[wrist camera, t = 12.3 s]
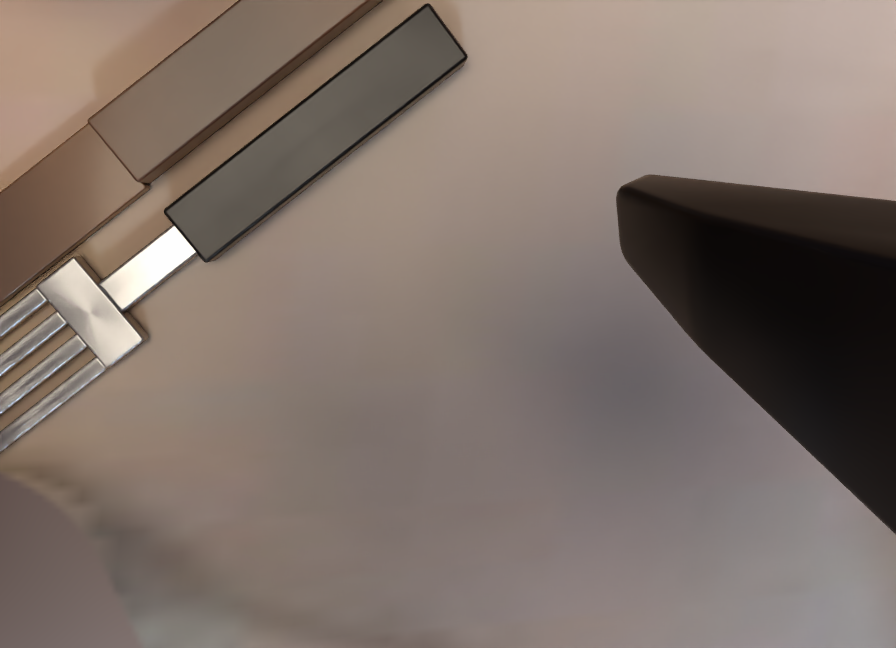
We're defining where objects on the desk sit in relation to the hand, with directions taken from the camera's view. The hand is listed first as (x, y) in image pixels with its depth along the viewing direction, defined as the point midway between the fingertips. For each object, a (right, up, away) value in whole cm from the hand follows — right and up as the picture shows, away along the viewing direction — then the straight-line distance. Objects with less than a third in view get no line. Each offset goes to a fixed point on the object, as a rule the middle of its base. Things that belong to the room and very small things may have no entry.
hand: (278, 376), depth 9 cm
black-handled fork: (-5, +3, +12) cm, 13 cm away
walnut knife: (-6, +5, +11) cm, 14 cm away
